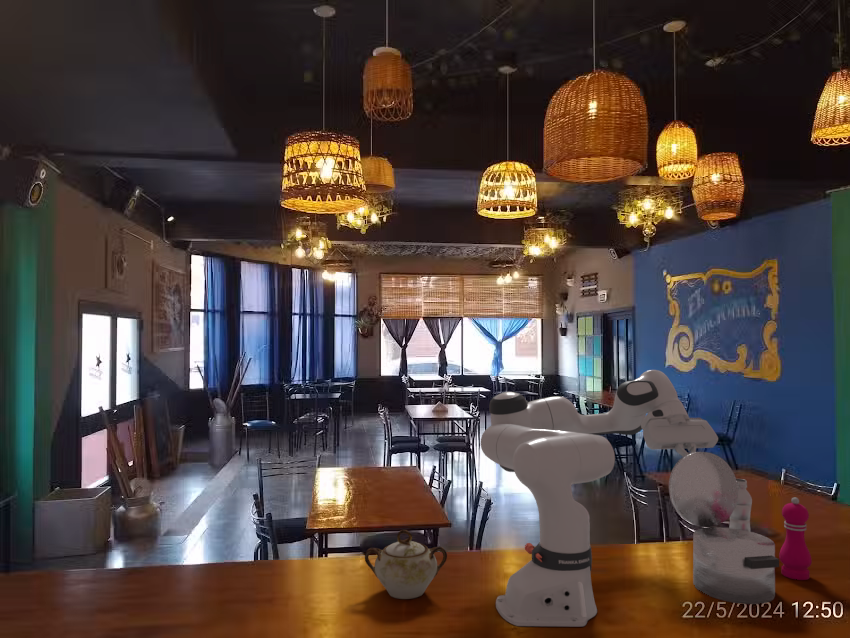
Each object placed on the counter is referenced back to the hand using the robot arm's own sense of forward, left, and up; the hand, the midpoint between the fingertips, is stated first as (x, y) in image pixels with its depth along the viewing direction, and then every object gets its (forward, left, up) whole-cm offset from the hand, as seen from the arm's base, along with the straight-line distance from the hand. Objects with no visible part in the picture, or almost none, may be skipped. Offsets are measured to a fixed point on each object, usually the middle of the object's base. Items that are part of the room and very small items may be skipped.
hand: (691, 460), depth 177 cm
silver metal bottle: (+19, +6, -28) cm, 34 cm away
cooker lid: (0, -6, -6) cm, 9 cm away
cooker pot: (0, -17, -28) cm, 33 cm away
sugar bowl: (-79, -6, -28) cm, 84 cm away
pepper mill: (+21, -13, -28) cm, 37 cm away
